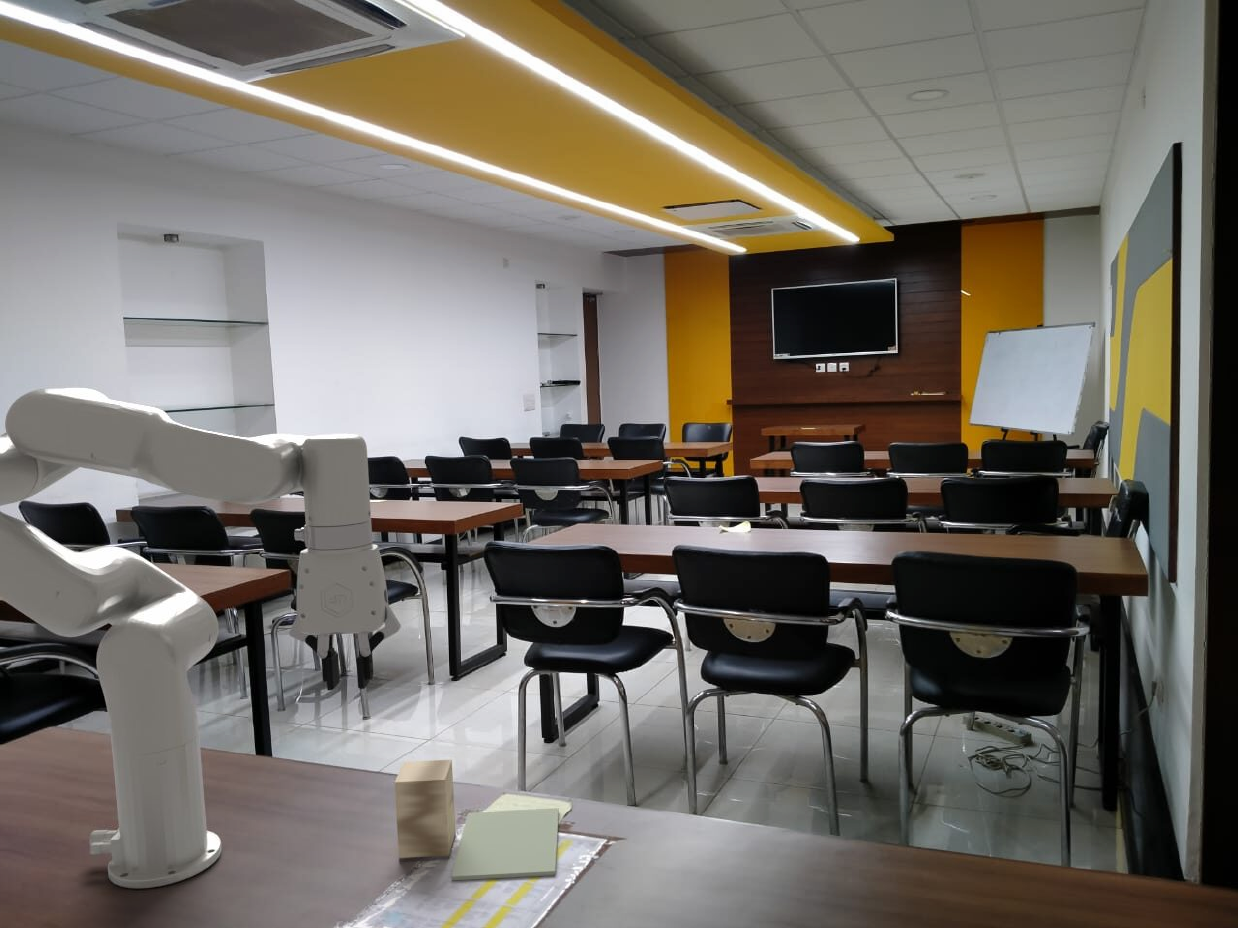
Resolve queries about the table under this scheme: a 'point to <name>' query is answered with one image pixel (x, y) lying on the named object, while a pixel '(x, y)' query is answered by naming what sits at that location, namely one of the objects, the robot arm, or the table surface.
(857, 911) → the table surface
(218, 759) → the table surface
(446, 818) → the maple block
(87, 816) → the table surface
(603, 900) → the table surface
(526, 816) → the rubber mat
